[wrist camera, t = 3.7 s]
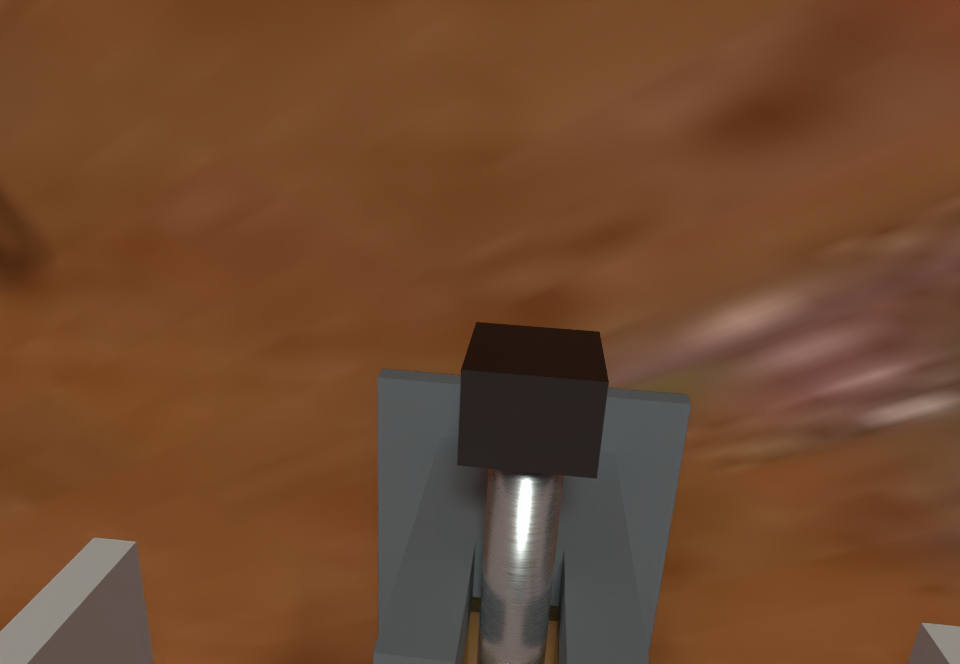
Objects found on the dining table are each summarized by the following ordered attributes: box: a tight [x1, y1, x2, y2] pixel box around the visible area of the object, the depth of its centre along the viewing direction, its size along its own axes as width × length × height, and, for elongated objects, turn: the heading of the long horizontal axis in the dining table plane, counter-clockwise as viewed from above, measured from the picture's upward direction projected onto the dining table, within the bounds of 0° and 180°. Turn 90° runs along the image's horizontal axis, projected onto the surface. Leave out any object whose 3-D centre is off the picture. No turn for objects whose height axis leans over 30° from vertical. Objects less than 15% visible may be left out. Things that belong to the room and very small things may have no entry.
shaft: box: [457, 322, 609, 664], centre depth 25 cm, size 22×4×4 cm, turn 177°
